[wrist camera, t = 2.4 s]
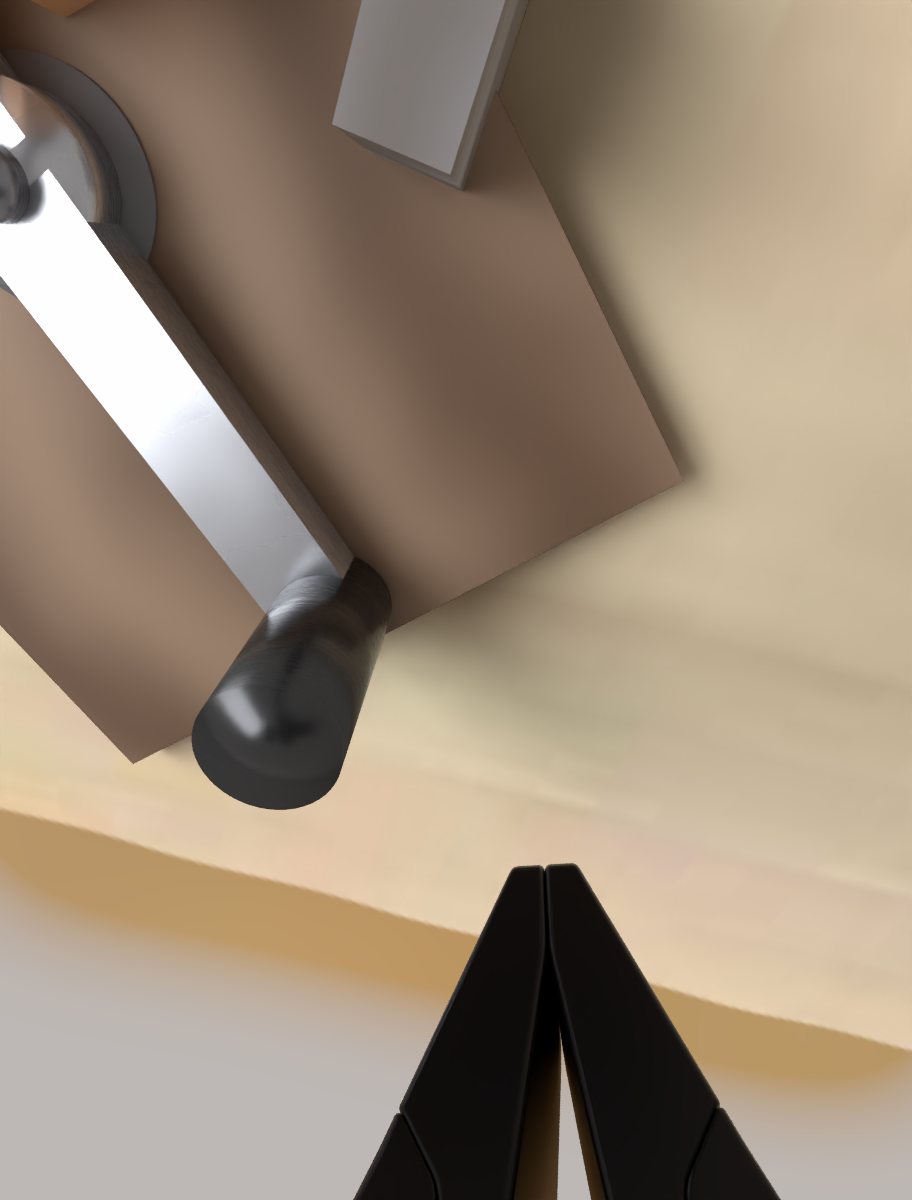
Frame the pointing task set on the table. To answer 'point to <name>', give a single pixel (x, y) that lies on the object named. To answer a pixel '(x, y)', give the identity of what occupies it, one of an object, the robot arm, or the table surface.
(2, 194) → the lever
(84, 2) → the block
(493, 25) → the press bench
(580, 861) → the table surface
